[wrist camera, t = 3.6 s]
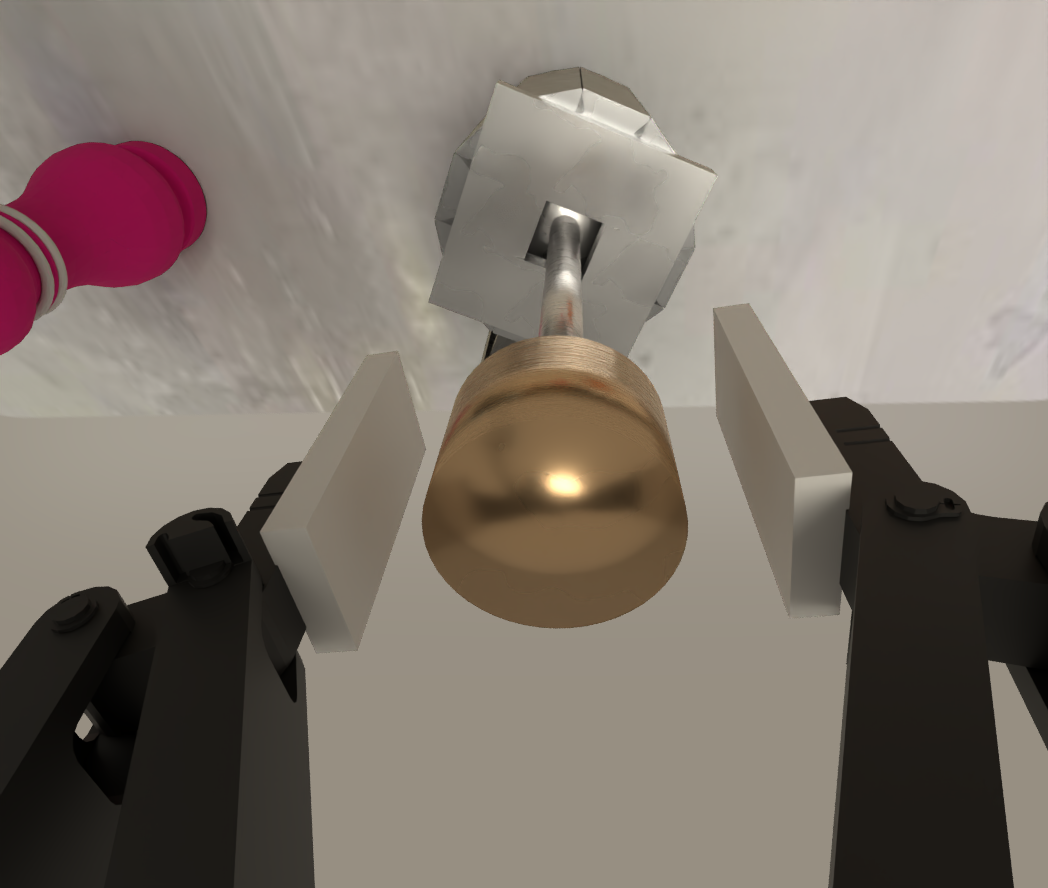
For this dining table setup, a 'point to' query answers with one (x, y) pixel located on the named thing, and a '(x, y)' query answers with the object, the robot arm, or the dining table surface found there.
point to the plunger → (556, 467)
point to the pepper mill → (93, 227)
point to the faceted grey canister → (578, 185)
